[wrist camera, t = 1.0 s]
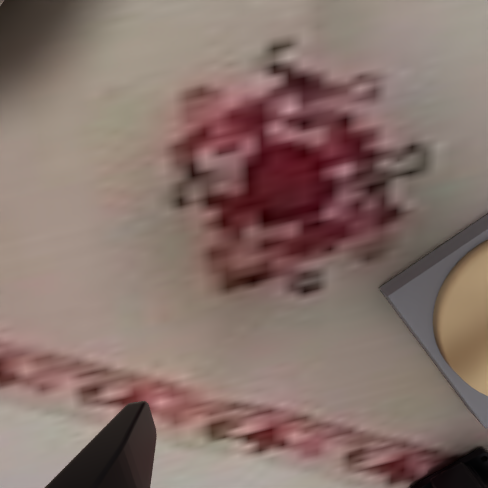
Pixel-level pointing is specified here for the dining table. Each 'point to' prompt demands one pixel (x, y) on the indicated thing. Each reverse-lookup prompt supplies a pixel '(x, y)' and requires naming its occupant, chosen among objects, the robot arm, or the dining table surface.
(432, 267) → the mat
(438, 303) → the lid
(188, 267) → the dining table surface
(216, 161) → the dining table surface
